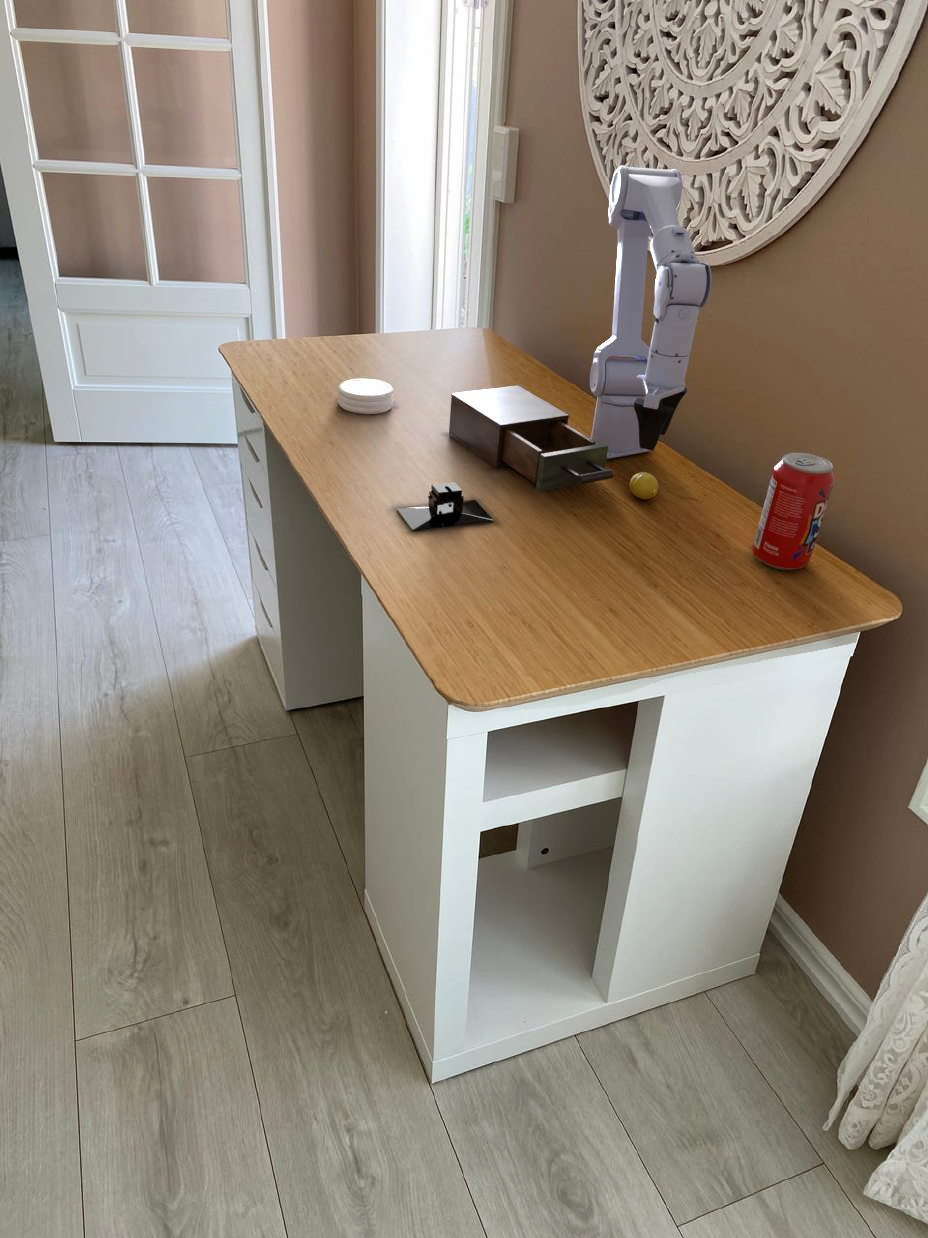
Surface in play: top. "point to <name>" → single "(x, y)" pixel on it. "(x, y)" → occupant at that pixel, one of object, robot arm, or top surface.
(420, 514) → the black block on plate
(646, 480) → the lemon
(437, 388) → the top surface
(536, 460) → the drawer
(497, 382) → the top surface
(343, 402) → the coaster
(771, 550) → the soda can
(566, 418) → the cabinet
